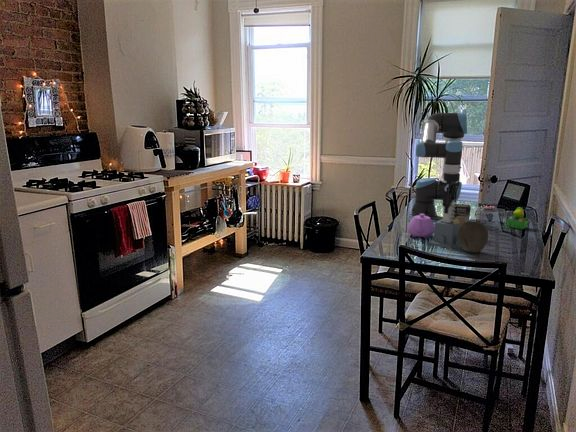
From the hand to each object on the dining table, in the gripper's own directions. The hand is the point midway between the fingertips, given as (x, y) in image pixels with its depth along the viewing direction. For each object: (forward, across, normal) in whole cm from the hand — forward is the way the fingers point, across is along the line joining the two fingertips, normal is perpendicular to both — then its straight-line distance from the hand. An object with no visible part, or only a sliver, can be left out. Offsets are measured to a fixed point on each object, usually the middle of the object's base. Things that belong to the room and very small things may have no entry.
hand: (448, 218), depth 232 cm
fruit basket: (+13, +55, -19) cm, 60 cm away
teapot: (+13, +2, +15) cm, 20 cm away
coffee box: (+13, +20, +1) cm, 24 cm away
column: (+11, 0, 0) cm, 11 cm away
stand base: (+13, 0, 0) cm, 13 cm away
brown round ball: (+13, -6, -15) cm, 21 cm away
